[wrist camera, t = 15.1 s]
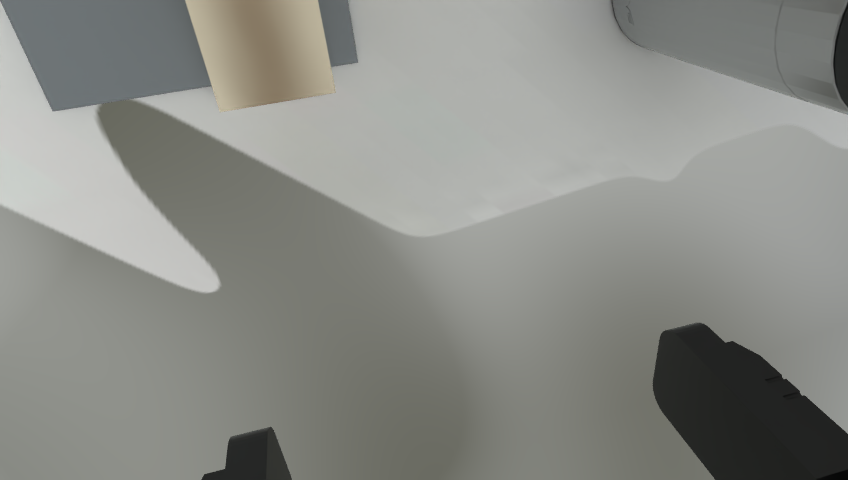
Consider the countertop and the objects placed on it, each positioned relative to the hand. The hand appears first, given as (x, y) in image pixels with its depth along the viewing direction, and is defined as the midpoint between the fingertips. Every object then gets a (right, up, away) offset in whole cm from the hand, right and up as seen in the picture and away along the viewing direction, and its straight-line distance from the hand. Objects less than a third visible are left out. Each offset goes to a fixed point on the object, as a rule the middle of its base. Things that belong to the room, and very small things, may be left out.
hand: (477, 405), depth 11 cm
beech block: (-10, +17, +20) cm, 28 cm away
